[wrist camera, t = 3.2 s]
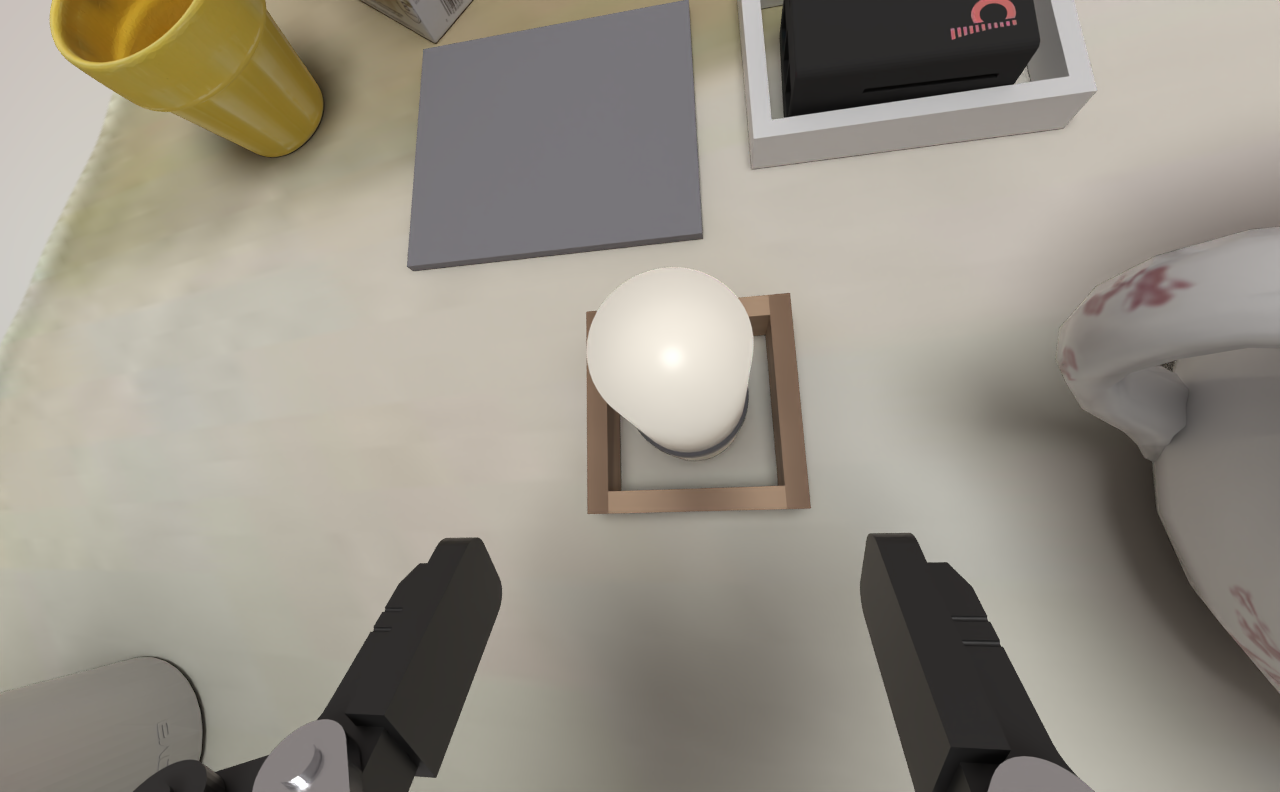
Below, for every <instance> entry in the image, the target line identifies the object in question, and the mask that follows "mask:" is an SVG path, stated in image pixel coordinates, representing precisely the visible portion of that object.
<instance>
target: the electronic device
mask: <svg viewBox="0 0 1280 792" xmlns="http://www.w3.org/2000/svg"><path fill="white" fill-rule="evenodd" d="M1039 45H1040V34H1039V28H1038V23H1037V17H1036V12H1035V6H1034V1H1033V0H783V9H782V18H781V27H780V54H781V73H782V92H783V110H784V118H787V117H793V116H800V115H807V114H814V113H821V112H828V111H835V110H841V109H848V108H855V107H862V106H869V105H876V104H883V103H889V102H896V101H903V100H910V99H917V98H924V97H930V96H937V95H944V94H951V93H958V92H965V91H972V90H978V89H985V88H992V87H999V86H1006V85H1013V84H1014V83H1015V82H1016V80H1017V79H1018V77H1019V76H1020V74H1021V73H1022V72H1023V70H1024V69H1025V67H1026V66H1027V64H1028V63H1029V61H1030V60H1031V58H1032V57H1033V55H1034V54H1035V53H1036V51H1037V50H1038V48H1039Z"/></svg>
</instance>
